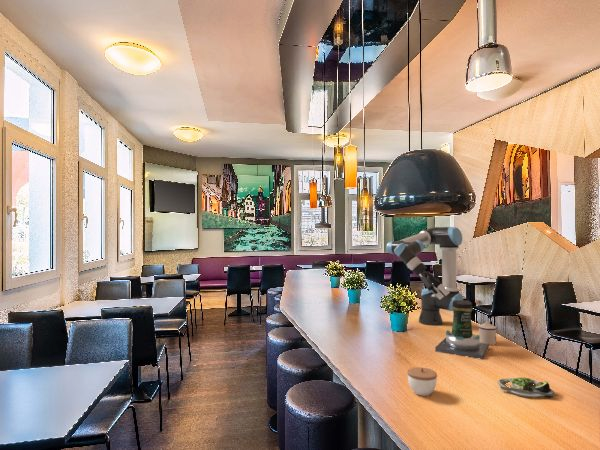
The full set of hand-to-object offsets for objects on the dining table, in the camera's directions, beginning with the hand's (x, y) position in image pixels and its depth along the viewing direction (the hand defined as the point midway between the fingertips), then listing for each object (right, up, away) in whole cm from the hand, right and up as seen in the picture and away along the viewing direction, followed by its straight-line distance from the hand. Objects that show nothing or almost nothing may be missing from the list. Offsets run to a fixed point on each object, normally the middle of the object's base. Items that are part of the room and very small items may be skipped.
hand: (445, 296), depth 201 cm
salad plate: (+11, -27, -55) cm, 62 cm away
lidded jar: (-31, -26, -58) cm, 71 cm away
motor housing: (+7, -27, -5) cm, 28 cm away
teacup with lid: (+26, -27, +8) cm, 39 cm away
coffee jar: (+7, -20, -5) cm, 22 cm away
